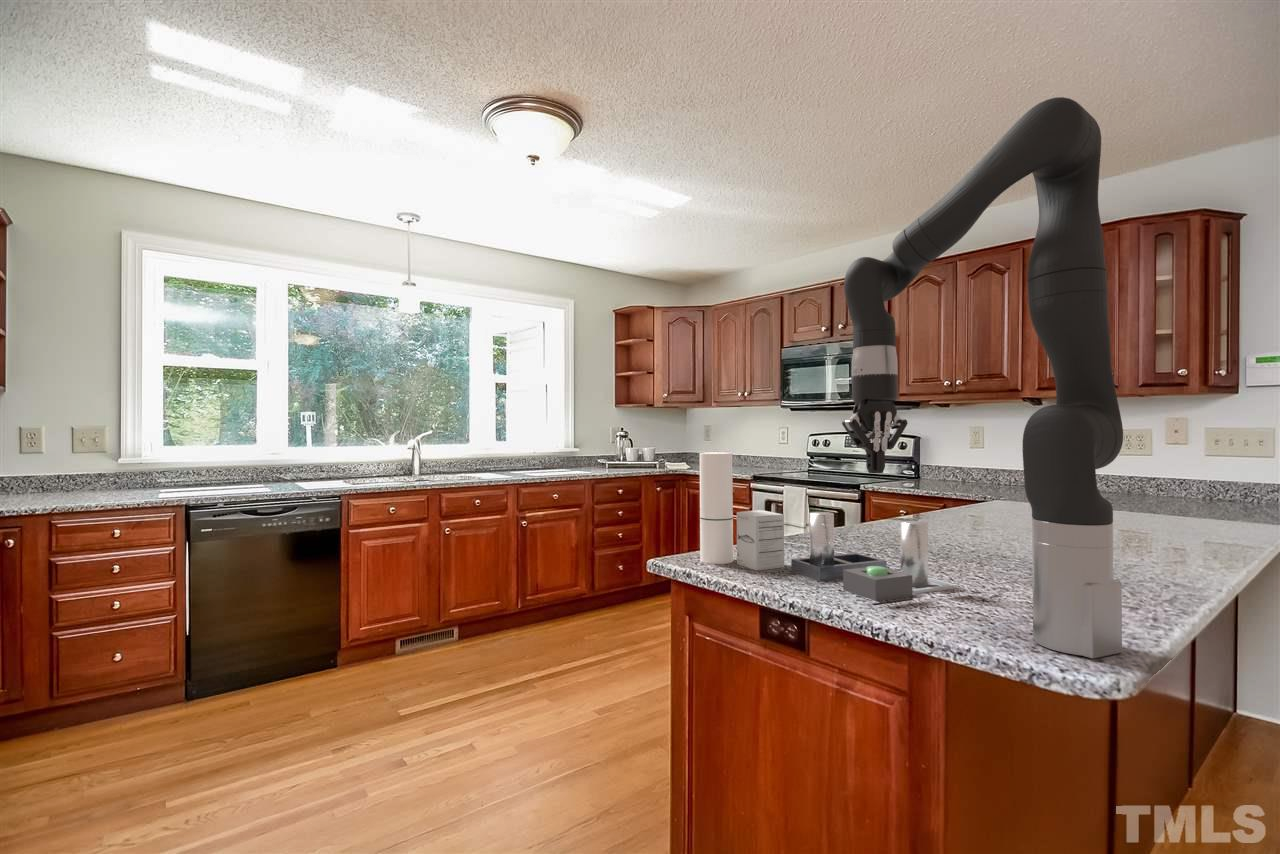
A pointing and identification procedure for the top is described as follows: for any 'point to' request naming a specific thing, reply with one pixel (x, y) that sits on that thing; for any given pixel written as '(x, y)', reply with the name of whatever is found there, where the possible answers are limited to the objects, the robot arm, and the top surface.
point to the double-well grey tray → (834, 566)
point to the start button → (877, 570)
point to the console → (878, 585)
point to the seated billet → (821, 538)
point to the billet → (914, 551)
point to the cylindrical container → (716, 508)
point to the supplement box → (760, 539)
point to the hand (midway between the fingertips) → (875, 473)
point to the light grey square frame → (936, 588)
